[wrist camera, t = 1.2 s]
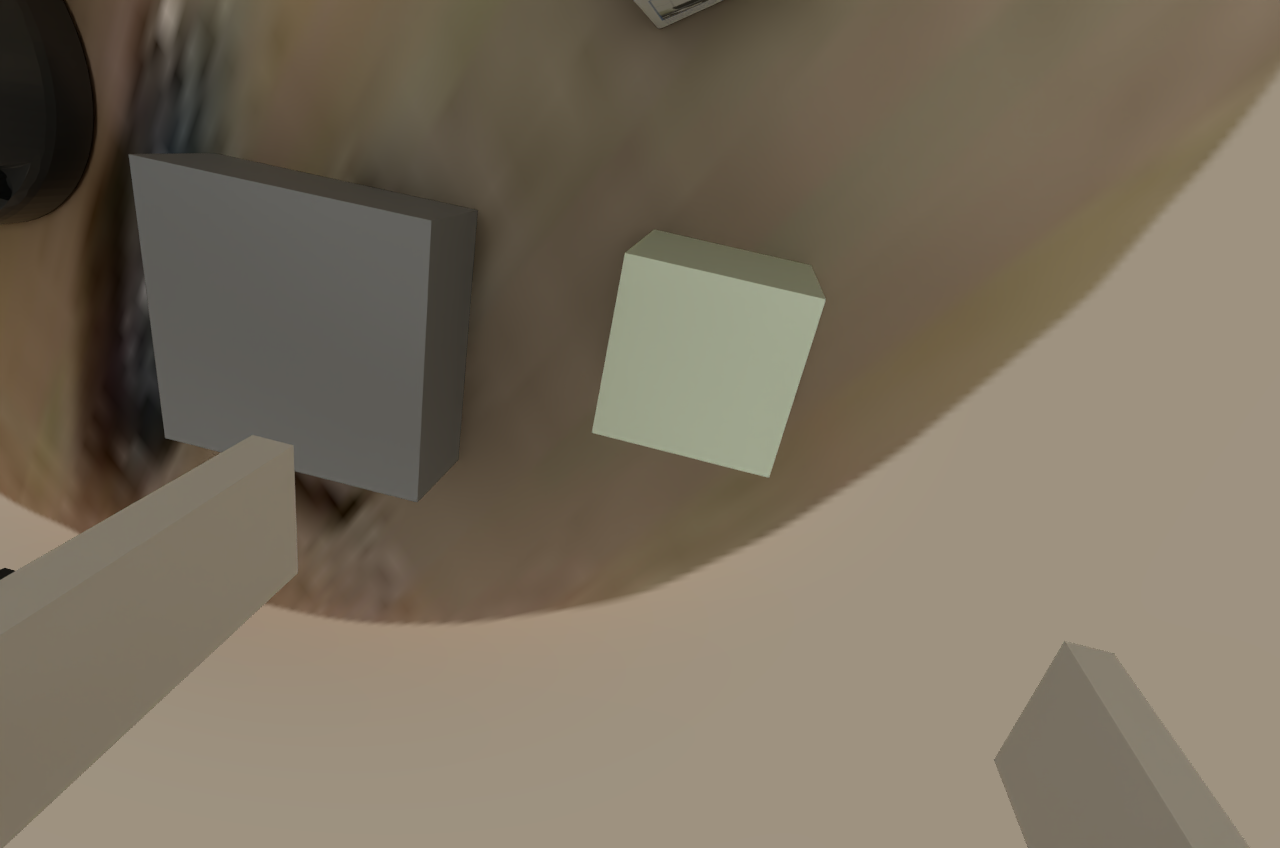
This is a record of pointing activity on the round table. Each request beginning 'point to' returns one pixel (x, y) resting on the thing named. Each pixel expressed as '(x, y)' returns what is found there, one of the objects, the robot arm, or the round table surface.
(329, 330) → the base block
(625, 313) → the green cube
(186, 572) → the robot arm
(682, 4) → the light bulb box
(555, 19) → the round table surface
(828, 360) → the round table surface
